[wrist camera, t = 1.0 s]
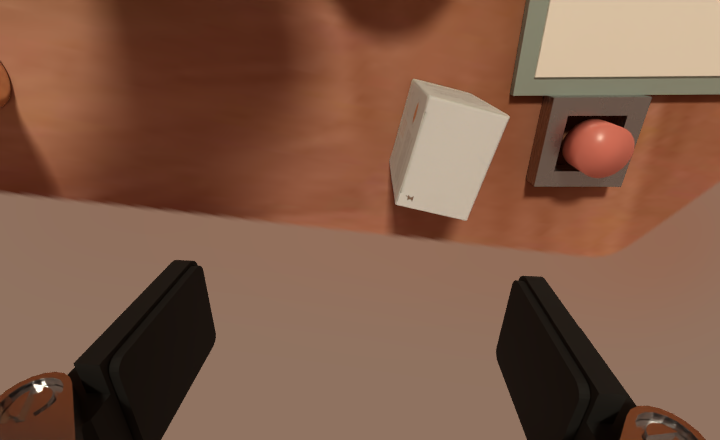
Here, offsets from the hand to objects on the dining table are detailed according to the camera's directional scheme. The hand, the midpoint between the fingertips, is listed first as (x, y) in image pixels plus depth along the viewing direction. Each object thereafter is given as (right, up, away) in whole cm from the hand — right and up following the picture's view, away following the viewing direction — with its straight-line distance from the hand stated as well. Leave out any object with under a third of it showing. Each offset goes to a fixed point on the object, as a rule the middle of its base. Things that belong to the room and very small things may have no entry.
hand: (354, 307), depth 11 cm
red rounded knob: (+20, +9, +21) cm, 31 cm away
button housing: (+21, +10, +23) cm, 32 cm away
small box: (+7, +11, +23) cm, 26 cm away
